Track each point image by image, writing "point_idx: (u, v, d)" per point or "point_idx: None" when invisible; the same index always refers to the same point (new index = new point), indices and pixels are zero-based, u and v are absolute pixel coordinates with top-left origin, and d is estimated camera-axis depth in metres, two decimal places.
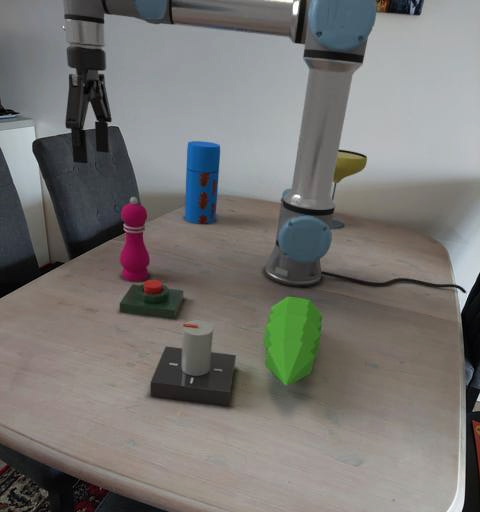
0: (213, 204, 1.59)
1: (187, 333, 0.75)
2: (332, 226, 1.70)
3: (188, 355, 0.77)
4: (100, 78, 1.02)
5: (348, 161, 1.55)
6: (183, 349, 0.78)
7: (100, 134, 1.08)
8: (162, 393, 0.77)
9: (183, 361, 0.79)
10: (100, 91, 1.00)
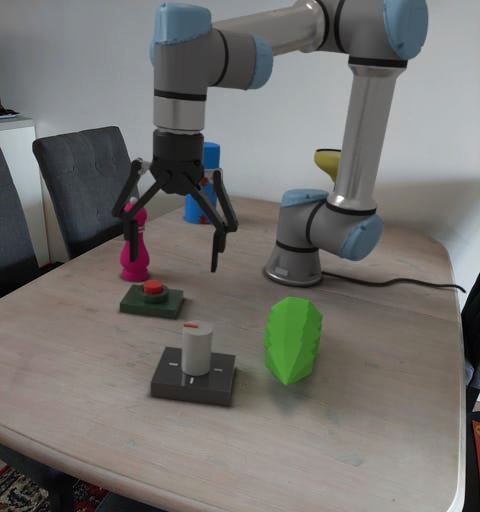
0: (213, 204, 1.59)
1: (187, 333, 0.75)
2: None
3: (188, 355, 0.77)
4: None
5: None
6: (183, 349, 0.78)
7: None
8: (162, 393, 0.77)
9: (183, 361, 0.79)
10: (190, 189, 0.71)
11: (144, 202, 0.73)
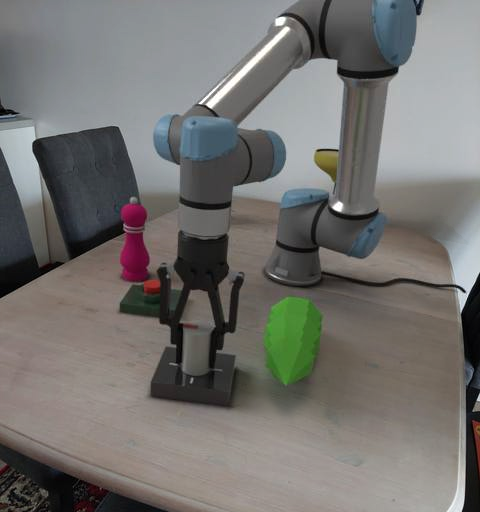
0: None
1: (187, 333, 0.75)
2: None
3: (188, 355, 0.77)
4: (235, 280, 0.72)
5: None
6: (183, 349, 0.78)
7: None
8: (162, 393, 0.77)
9: (183, 361, 0.79)
10: (209, 288, 0.72)
11: (182, 305, 0.74)
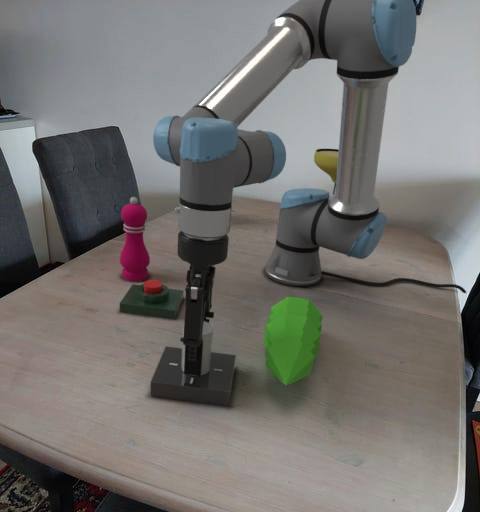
0: None
1: (209, 333, 0.76)
2: None
3: (209, 353, 0.78)
4: None
5: None
6: (203, 353, 0.77)
7: None
8: (162, 393, 0.77)
9: (204, 365, 0.78)
10: (212, 280, 0.75)
11: (204, 313, 0.72)
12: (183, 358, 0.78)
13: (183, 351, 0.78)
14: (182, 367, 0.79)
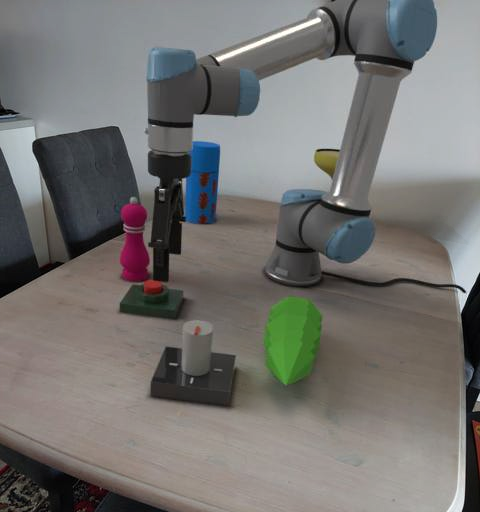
0: (213, 204, 1.59)
1: (209, 333, 0.76)
2: None
3: (209, 353, 0.78)
4: (178, 178, 0.88)
5: None
6: (203, 353, 0.77)
7: (173, 236, 0.94)
8: (162, 393, 0.77)
9: (204, 365, 0.78)
10: (180, 195, 0.86)
11: (170, 222, 0.81)
12: (183, 358, 0.78)
13: (183, 351, 0.78)
14: (182, 367, 0.79)
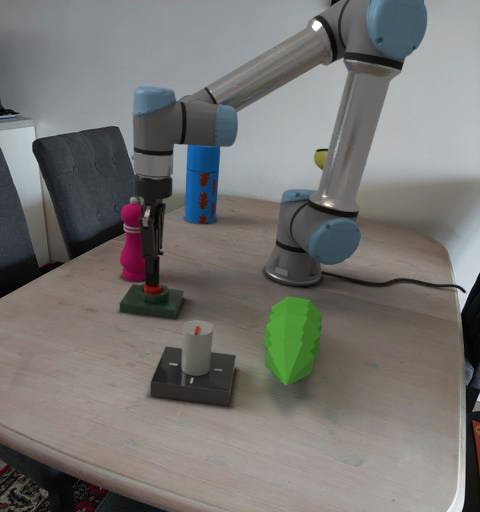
0: (213, 204, 1.59)
1: (209, 333, 0.76)
2: None
3: (209, 353, 0.78)
4: None
5: None
6: (203, 353, 0.77)
7: None
8: (162, 393, 0.77)
9: (204, 365, 0.78)
10: (162, 216, 0.97)
11: (157, 236, 0.97)
12: (183, 358, 0.78)
13: (183, 351, 0.78)
14: (182, 367, 0.79)
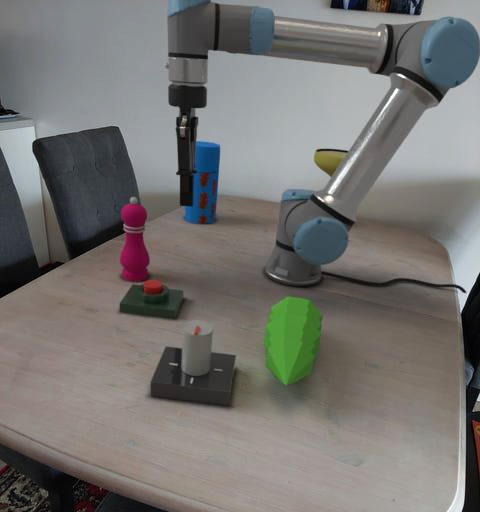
0: (213, 204, 1.59)
1: (209, 333, 0.76)
2: None
3: (209, 353, 0.78)
4: None
5: None
6: (203, 353, 0.77)
7: None
8: (162, 393, 0.77)
9: (204, 365, 0.78)
10: (196, 130, 0.96)
11: (192, 151, 0.96)
12: (183, 358, 0.78)
13: (183, 351, 0.78)
14: (182, 367, 0.79)
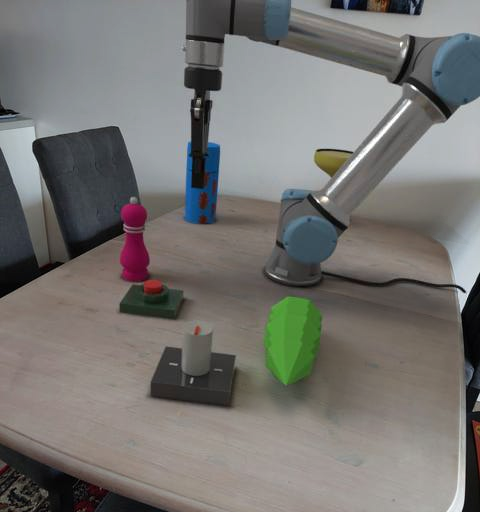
0: (213, 204, 1.59)
1: (209, 333, 0.76)
2: None
3: (209, 353, 0.78)
4: None
5: None
6: (203, 353, 0.77)
7: None
8: (162, 393, 0.77)
9: (204, 365, 0.78)
10: (210, 113, 0.98)
11: (205, 134, 0.98)
12: (183, 358, 0.78)
13: (183, 351, 0.78)
14: (182, 367, 0.79)
